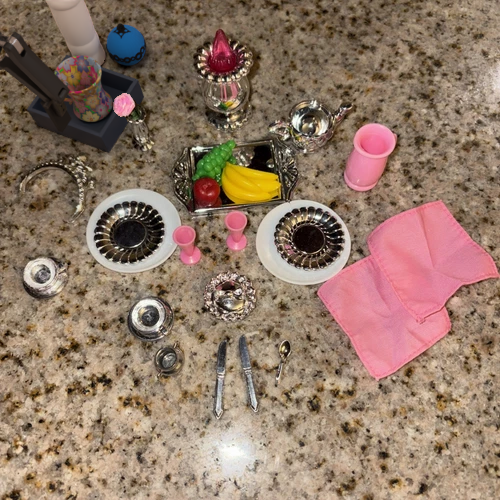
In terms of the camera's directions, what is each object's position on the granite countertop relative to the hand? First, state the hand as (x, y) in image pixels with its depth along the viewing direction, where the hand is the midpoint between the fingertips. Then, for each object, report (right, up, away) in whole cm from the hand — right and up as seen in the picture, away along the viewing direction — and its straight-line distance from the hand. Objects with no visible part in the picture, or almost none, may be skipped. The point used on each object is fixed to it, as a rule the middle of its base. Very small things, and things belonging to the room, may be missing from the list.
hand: (26, 111), depth 75 cm
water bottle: (-2, +22, +38) cm, 44 cm away
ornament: (+7, +22, +37) cm, 44 cm away
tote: (0, +9, +32) cm, 33 cm away
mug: (-1, +9, +32) cm, 33 cm away
